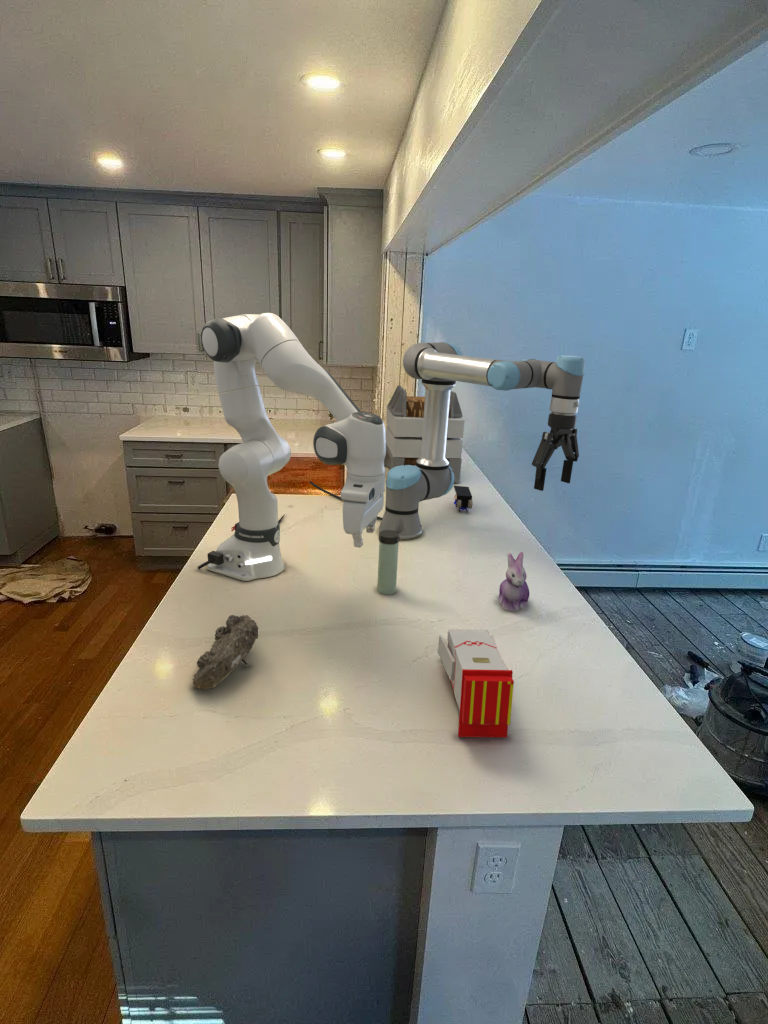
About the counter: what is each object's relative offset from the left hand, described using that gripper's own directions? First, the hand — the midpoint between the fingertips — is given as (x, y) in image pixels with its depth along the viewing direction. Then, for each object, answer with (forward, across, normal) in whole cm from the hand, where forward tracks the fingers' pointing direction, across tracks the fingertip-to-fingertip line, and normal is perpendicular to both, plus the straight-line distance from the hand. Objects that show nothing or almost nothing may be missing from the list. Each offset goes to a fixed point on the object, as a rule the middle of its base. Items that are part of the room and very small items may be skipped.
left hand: (364, 539), depth 136 cm
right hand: (-5, -46, +43) cm, 63 cm away
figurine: (+23, -22, +36) cm, 48 cm away
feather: (+22, -59, -50) cm, 80 cm away
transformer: (+22, -140, -16) cm, 143 cm away
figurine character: (+22, -97, +11) cm, 100 cm away
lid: (+6, -18, +1) cm, 19 cm away
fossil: (+22, +27, -22) cm, 41 cm away
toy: (+23, +19, +30) cm, 42 cm away
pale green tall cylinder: (+22, -18, +1) cm, 29 cm away
